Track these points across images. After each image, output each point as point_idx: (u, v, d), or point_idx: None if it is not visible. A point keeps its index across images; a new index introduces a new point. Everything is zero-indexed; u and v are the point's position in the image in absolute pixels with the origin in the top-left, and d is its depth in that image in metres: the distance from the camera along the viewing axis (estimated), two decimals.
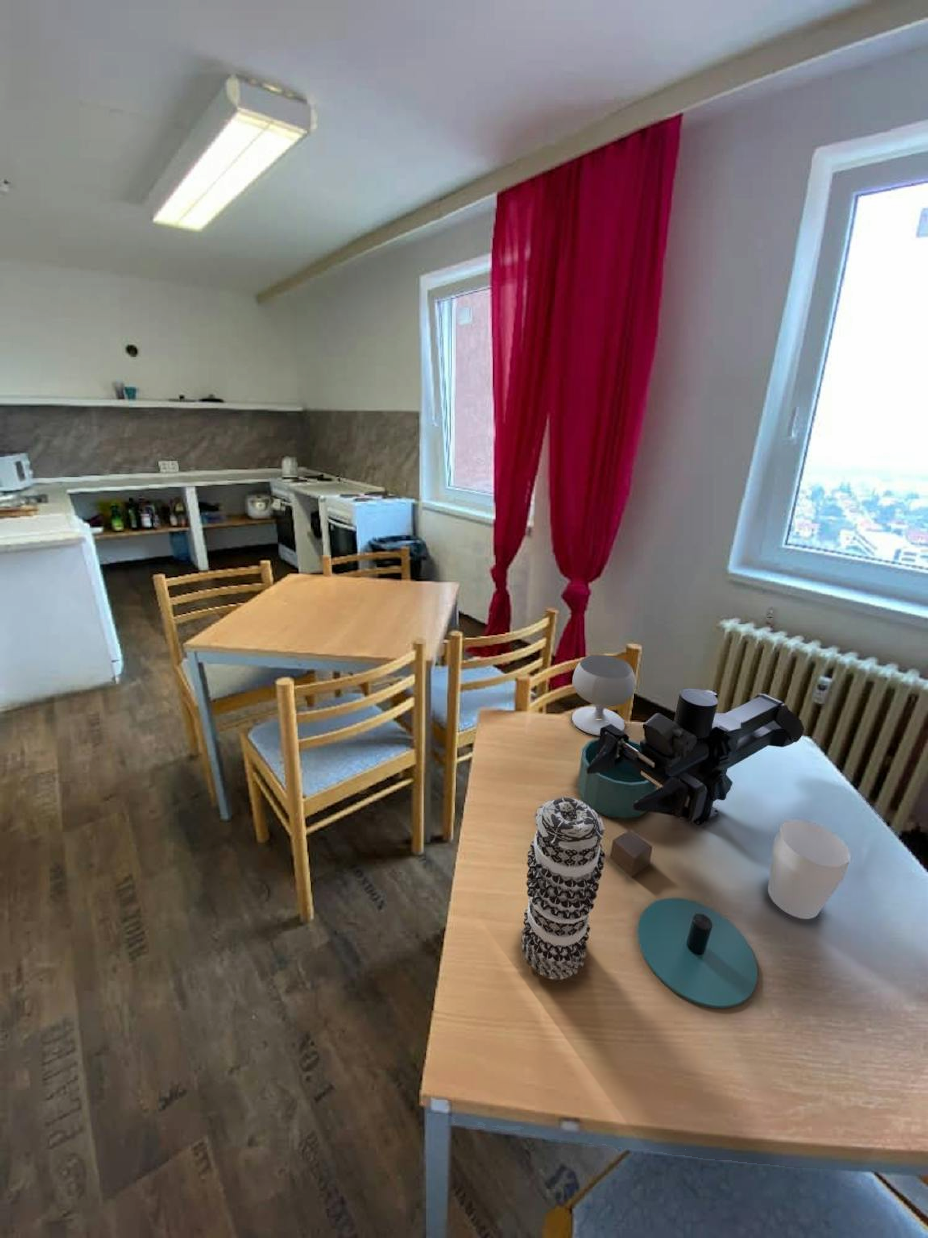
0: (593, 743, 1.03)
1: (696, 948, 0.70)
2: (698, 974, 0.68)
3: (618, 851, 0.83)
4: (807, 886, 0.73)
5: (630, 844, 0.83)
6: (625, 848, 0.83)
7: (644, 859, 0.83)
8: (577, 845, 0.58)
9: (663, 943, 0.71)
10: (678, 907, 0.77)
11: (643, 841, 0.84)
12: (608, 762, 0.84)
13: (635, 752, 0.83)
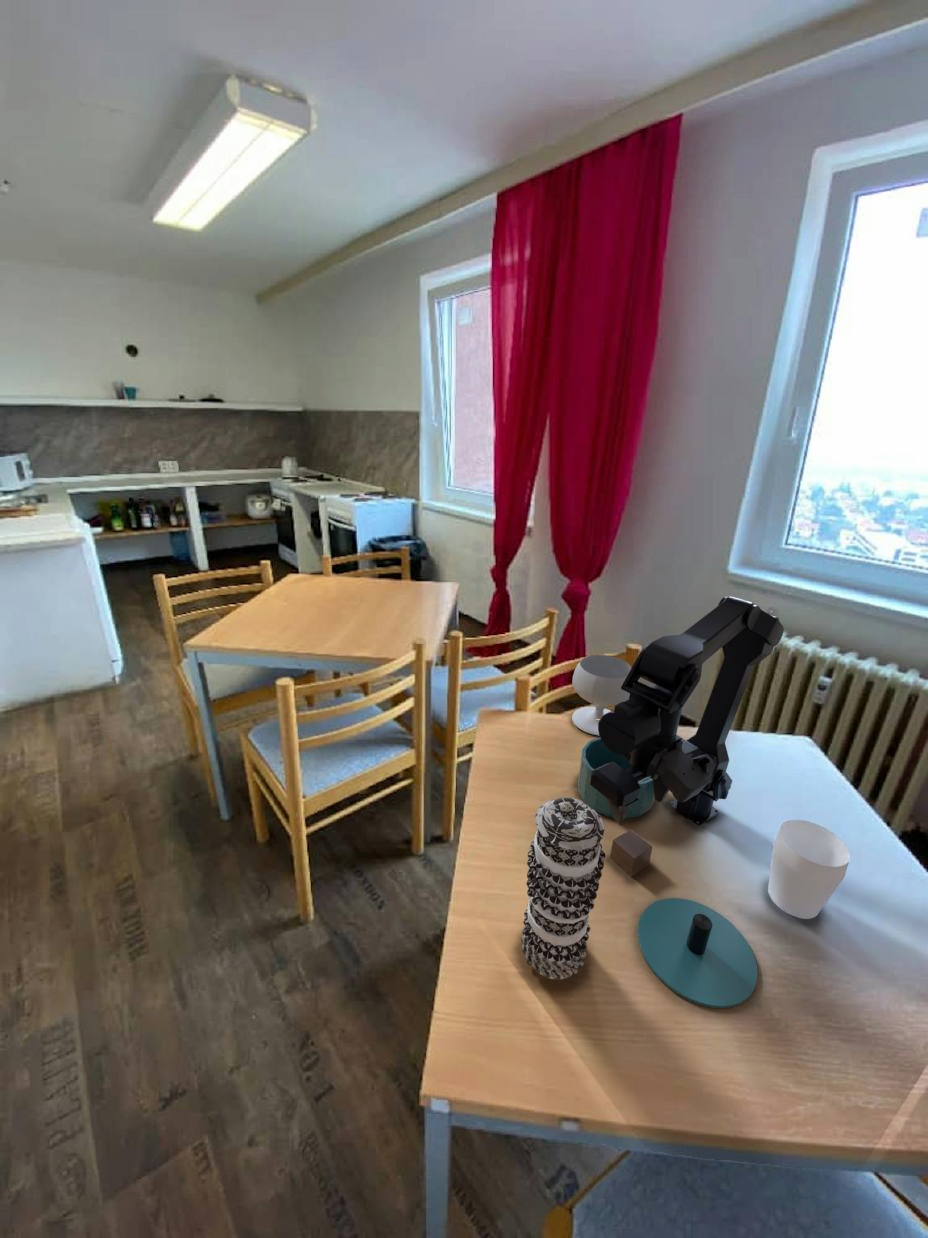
0: (593, 743, 1.03)
1: (696, 948, 0.70)
2: (698, 974, 0.68)
3: (618, 851, 0.83)
4: (807, 886, 0.73)
5: (630, 844, 0.83)
6: (625, 848, 0.83)
7: (644, 859, 0.83)
8: (577, 845, 0.58)
9: (663, 943, 0.71)
10: (678, 907, 0.77)
11: (643, 841, 0.84)
12: None
13: None
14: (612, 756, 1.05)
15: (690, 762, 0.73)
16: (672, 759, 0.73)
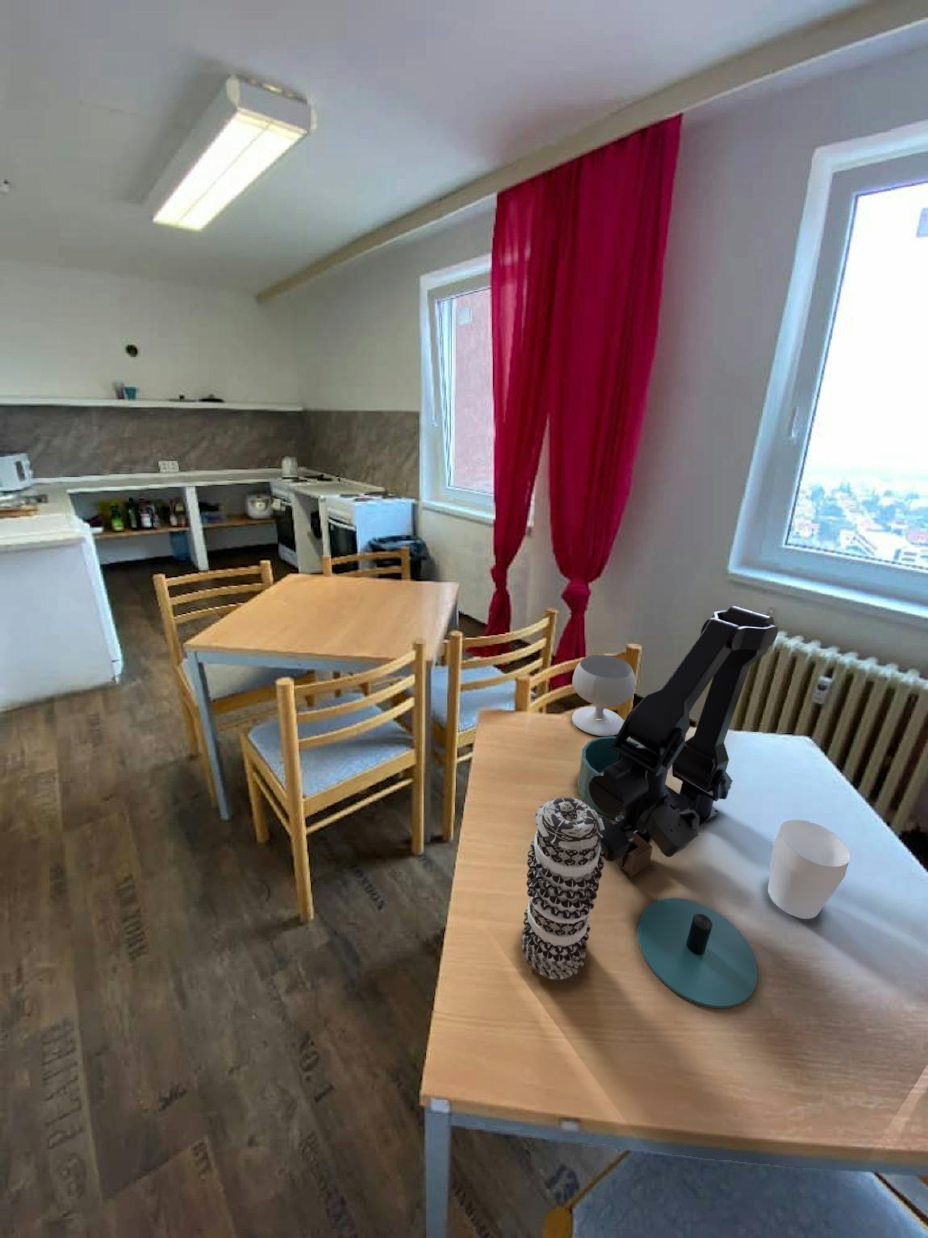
0: (593, 743, 1.03)
1: (696, 948, 0.70)
2: (698, 974, 0.68)
3: None
4: (807, 886, 0.73)
5: None
6: None
7: (644, 859, 0.83)
8: (577, 845, 0.58)
9: (663, 943, 0.71)
10: (678, 907, 0.77)
11: (643, 841, 0.84)
12: None
13: None
14: (612, 756, 1.05)
15: (677, 818, 0.77)
16: (660, 815, 0.76)
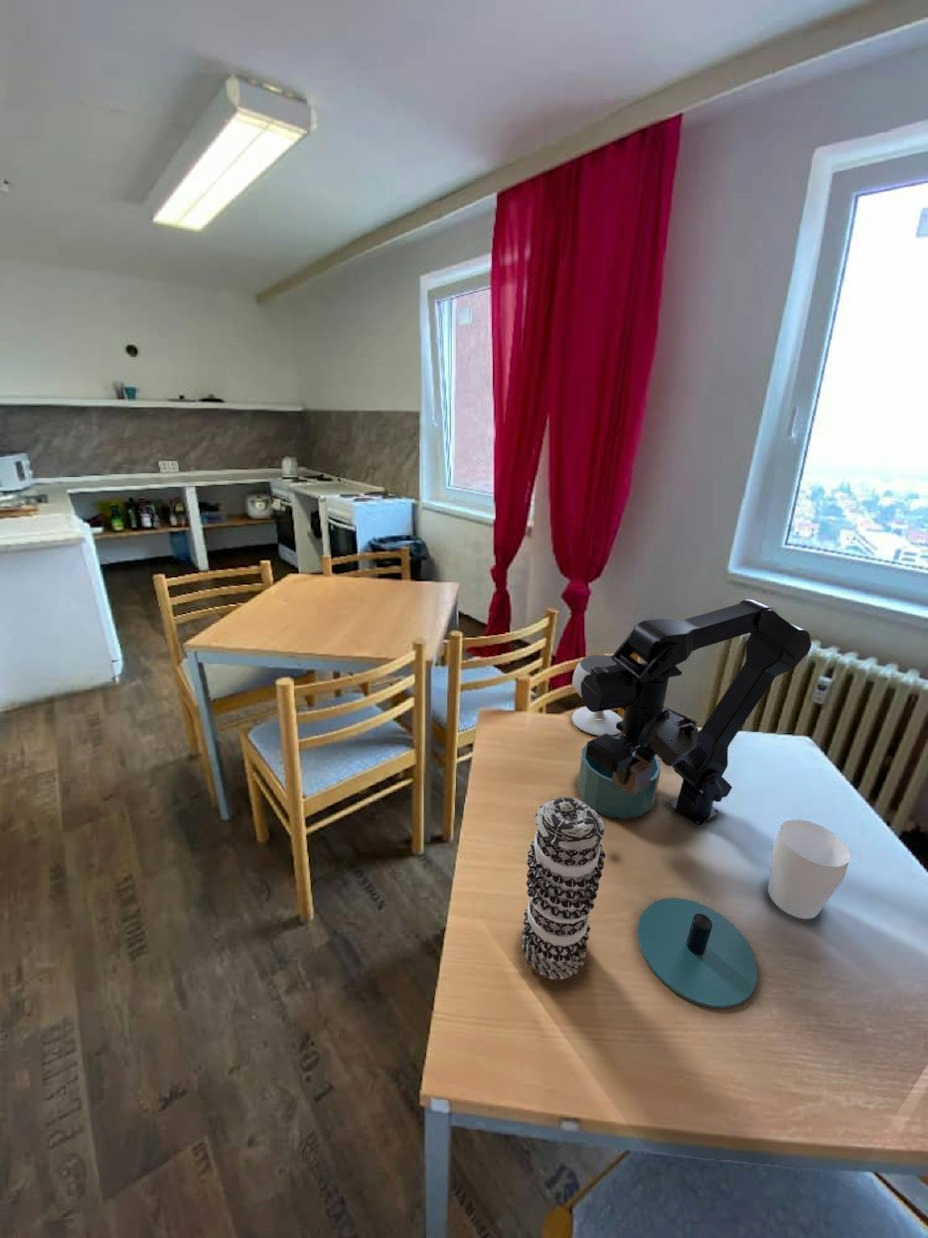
0: None
1: (696, 948, 0.70)
2: (698, 974, 0.68)
3: None
4: (807, 886, 0.73)
5: None
6: None
7: (645, 776, 0.86)
8: (577, 845, 0.58)
9: (663, 943, 0.71)
10: (678, 907, 0.77)
11: (644, 760, 0.87)
12: None
13: None
14: None
15: (676, 730, 0.80)
16: (660, 728, 0.80)
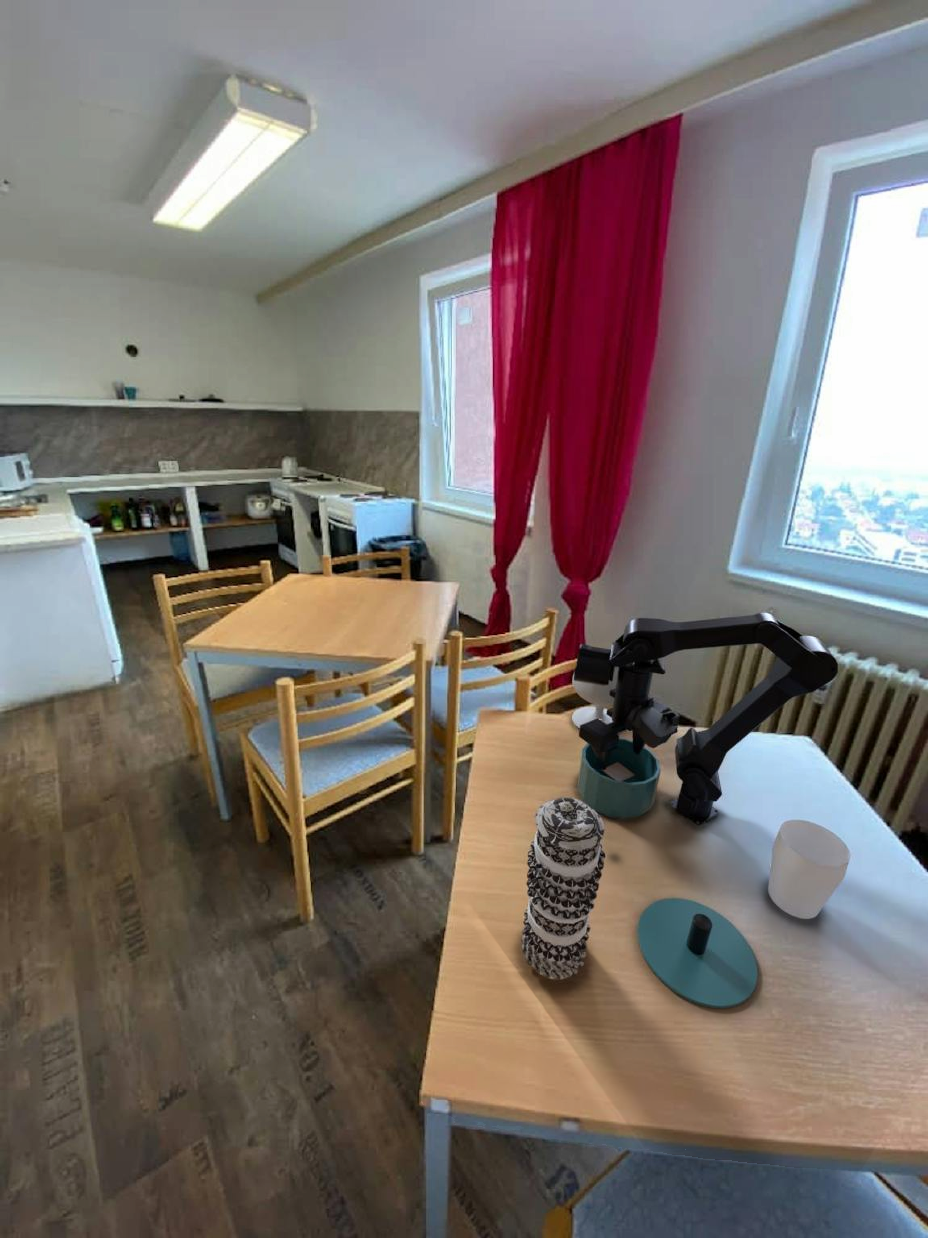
0: None
1: (696, 948, 0.70)
2: (698, 974, 0.68)
3: None
4: (807, 886, 0.73)
5: (616, 773, 0.99)
6: (612, 775, 0.98)
7: None
8: (577, 845, 0.58)
9: (663, 943, 0.71)
10: (678, 907, 0.77)
11: (627, 770, 0.99)
12: None
13: None
14: (612, 756, 1.05)
15: (660, 716, 0.90)
16: (645, 714, 0.89)
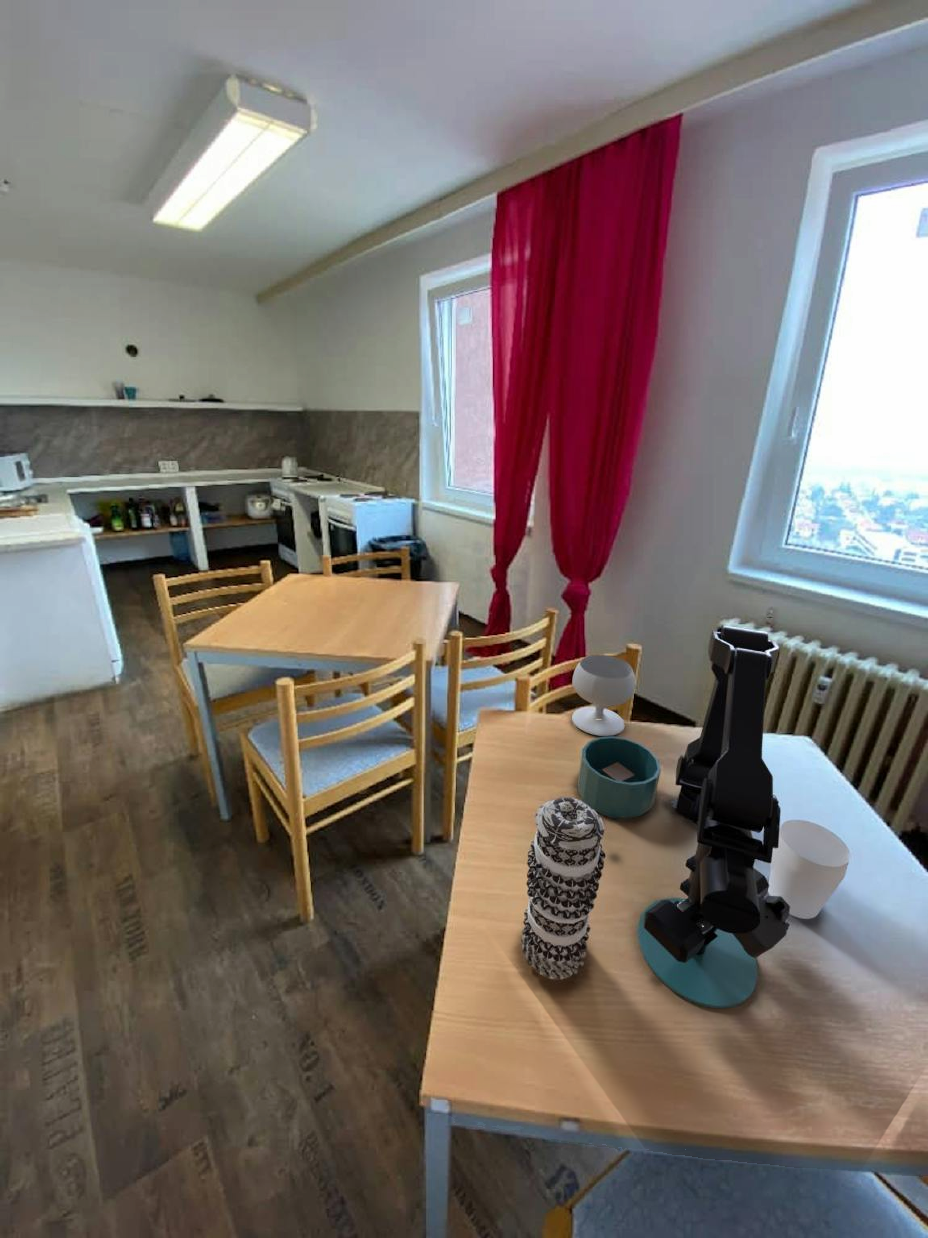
0: (593, 743, 1.03)
1: None
2: (698, 974, 0.68)
3: None
4: (807, 886, 0.73)
5: (616, 773, 0.99)
6: (612, 775, 0.98)
7: None
8: (577, 845, 0.58)
9: None
10: None
11: (627, 770, 0.99)
12: None
13: None
14: (612, 756, 1.05)
15: (762, 907, 0.63)
16: None
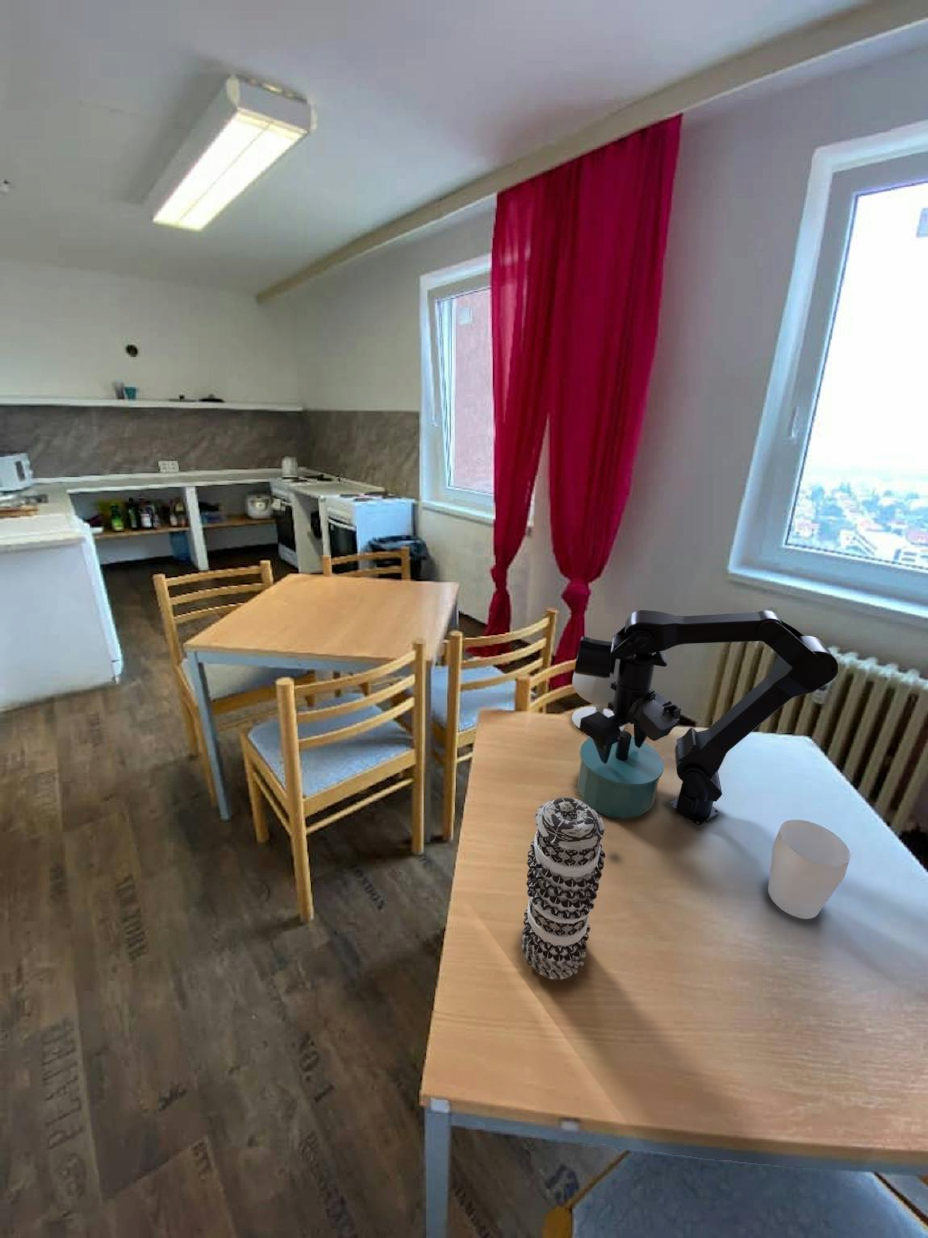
0: None
1: (620, 755, 0.96)
2: (620, 769, 0.94)
3: None
4: (807, 886, 0.73)
5: None
6: None
7: None
8: (577, 845, 0.58)
9: (598, 754, 0.98)
10: None
11: None
12: None
13: None
14: None
15: (661, 709, 0.89)
16: (646, 707, 0.89)
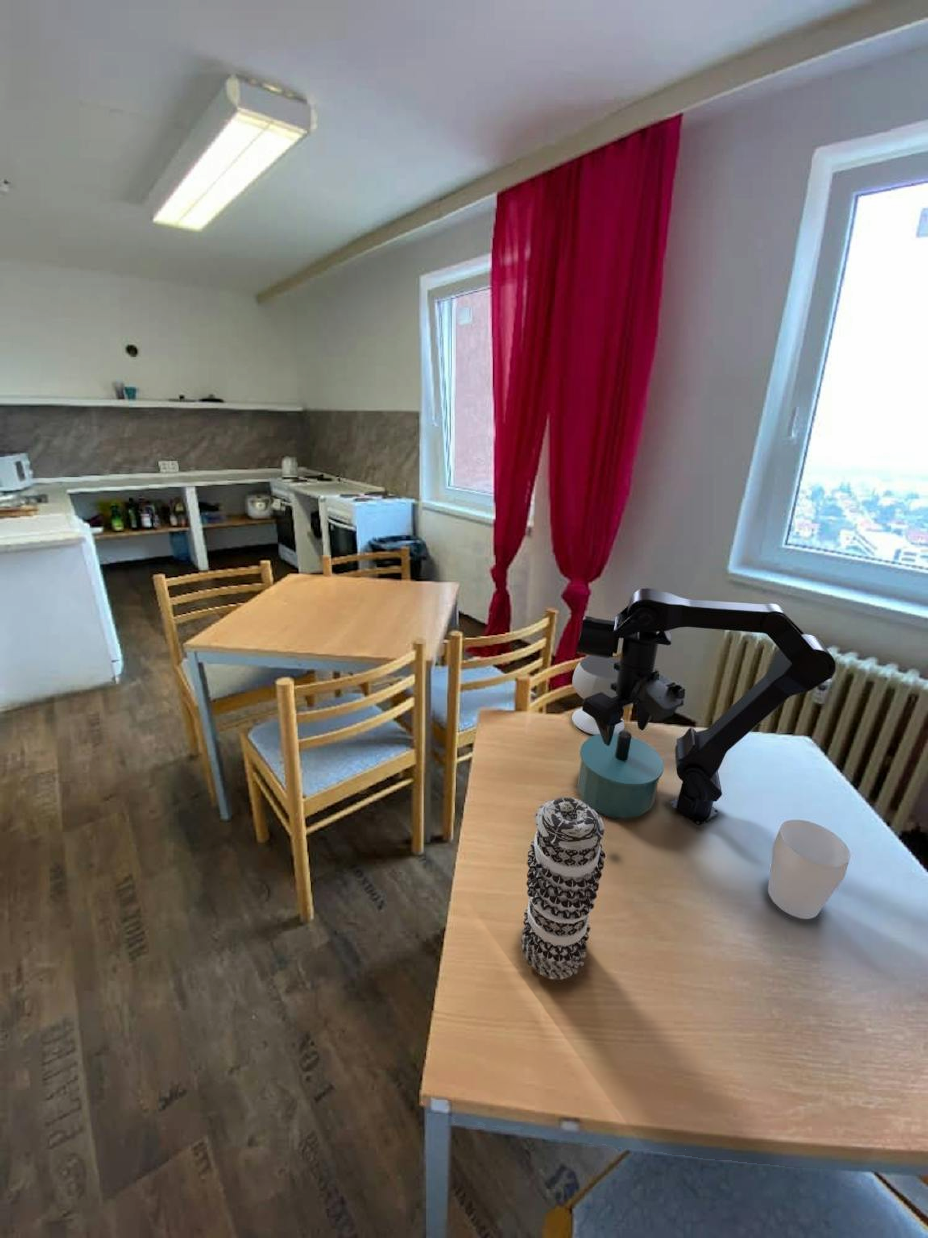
0: None
1: (620, 755, 0.96)
2: (620, 769, 0.94)
3: None
4: (807, 886, 0.73)
5: None
6: None
7: None
8: (577, 845, 0.58)
9: (598, 754, 0.98)
10: (612, 737, 1.03)
11: None
12: None
13: None
14: None
15: (665, 689, 0.88)
16: (650, 686, 0.87)
